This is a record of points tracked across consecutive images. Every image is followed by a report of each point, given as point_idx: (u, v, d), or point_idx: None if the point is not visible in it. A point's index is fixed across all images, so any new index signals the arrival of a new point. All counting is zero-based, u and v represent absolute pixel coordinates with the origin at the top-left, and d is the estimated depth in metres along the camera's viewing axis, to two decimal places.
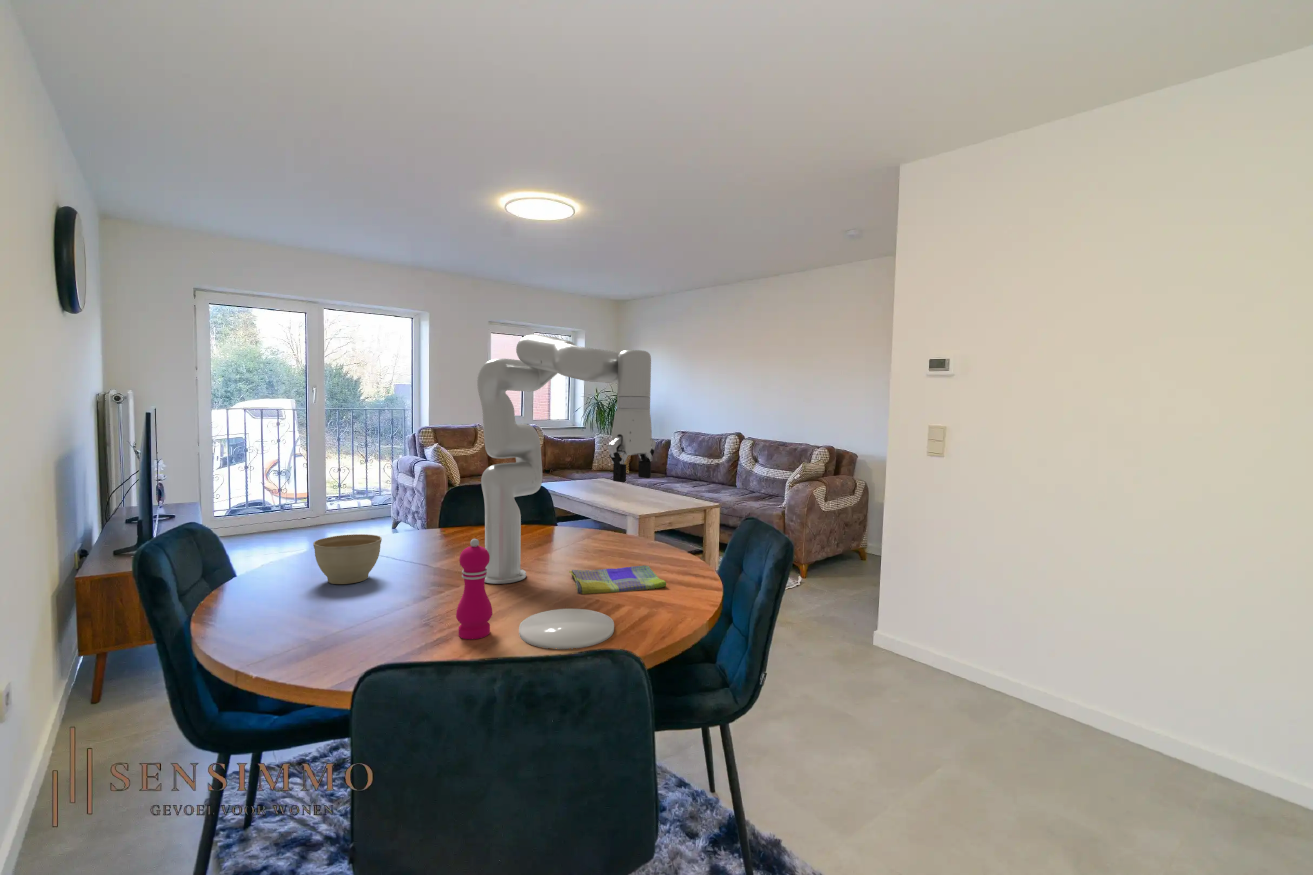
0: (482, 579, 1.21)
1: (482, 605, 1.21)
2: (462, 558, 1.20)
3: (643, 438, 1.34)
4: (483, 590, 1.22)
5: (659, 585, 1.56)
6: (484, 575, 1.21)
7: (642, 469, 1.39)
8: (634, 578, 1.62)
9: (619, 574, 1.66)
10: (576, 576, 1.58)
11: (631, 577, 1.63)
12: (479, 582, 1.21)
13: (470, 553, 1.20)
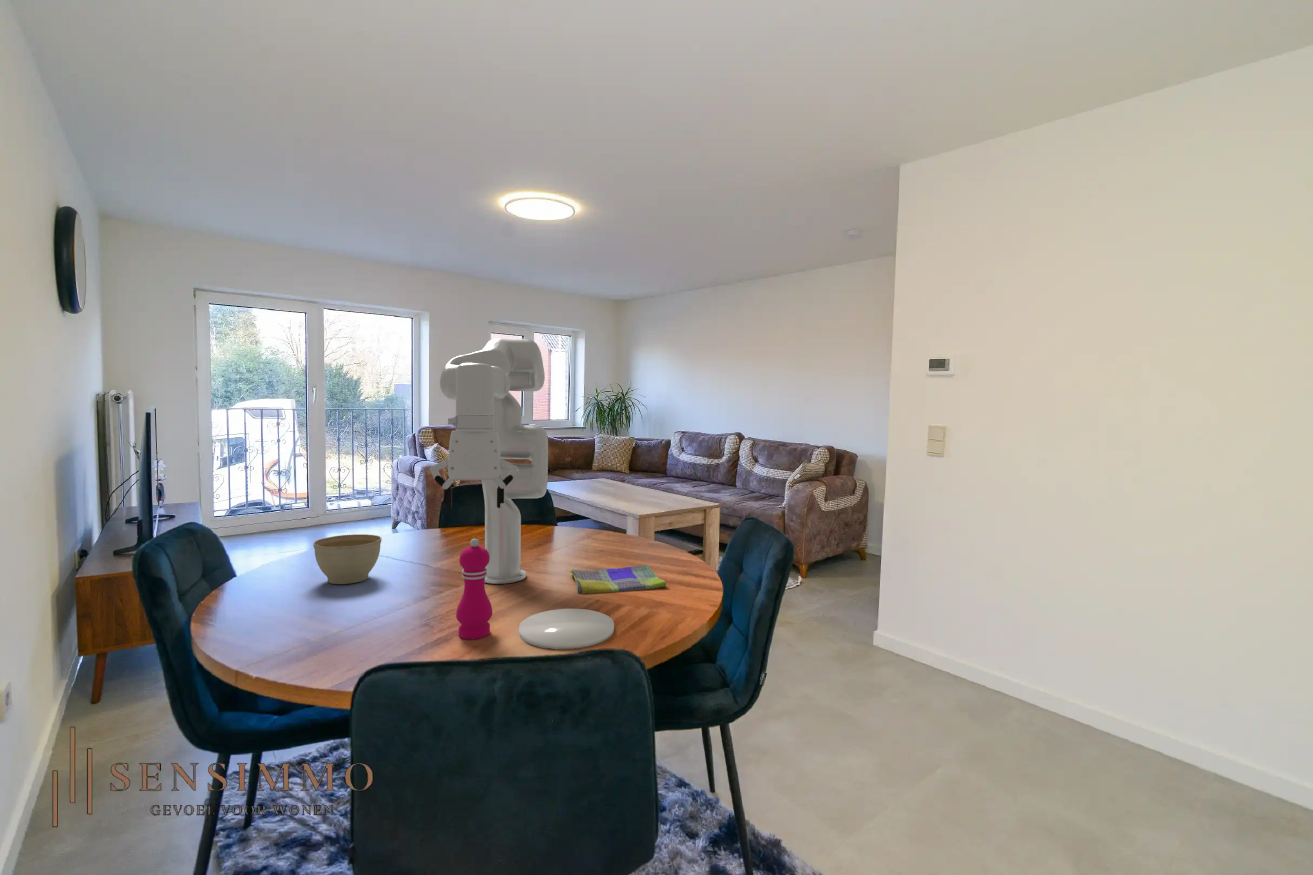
0: (482, 579, 1.21)
1: (482, 605, 1.21)
2: (462, 558, 1.20)
3: None
4: (483, 590, 1.22)
5: (659, 585, 1.56)
6: (484, 575, 1.21)
7: (451, 498, 1.20)
8: (634, 578, 1.62)
9: (619, 574, 1.66)
10: (576, 576, 1.59)
11: (631, 577, 1.63)
12: (479, 582, 1.21)
13: (470, 553, 1.20)
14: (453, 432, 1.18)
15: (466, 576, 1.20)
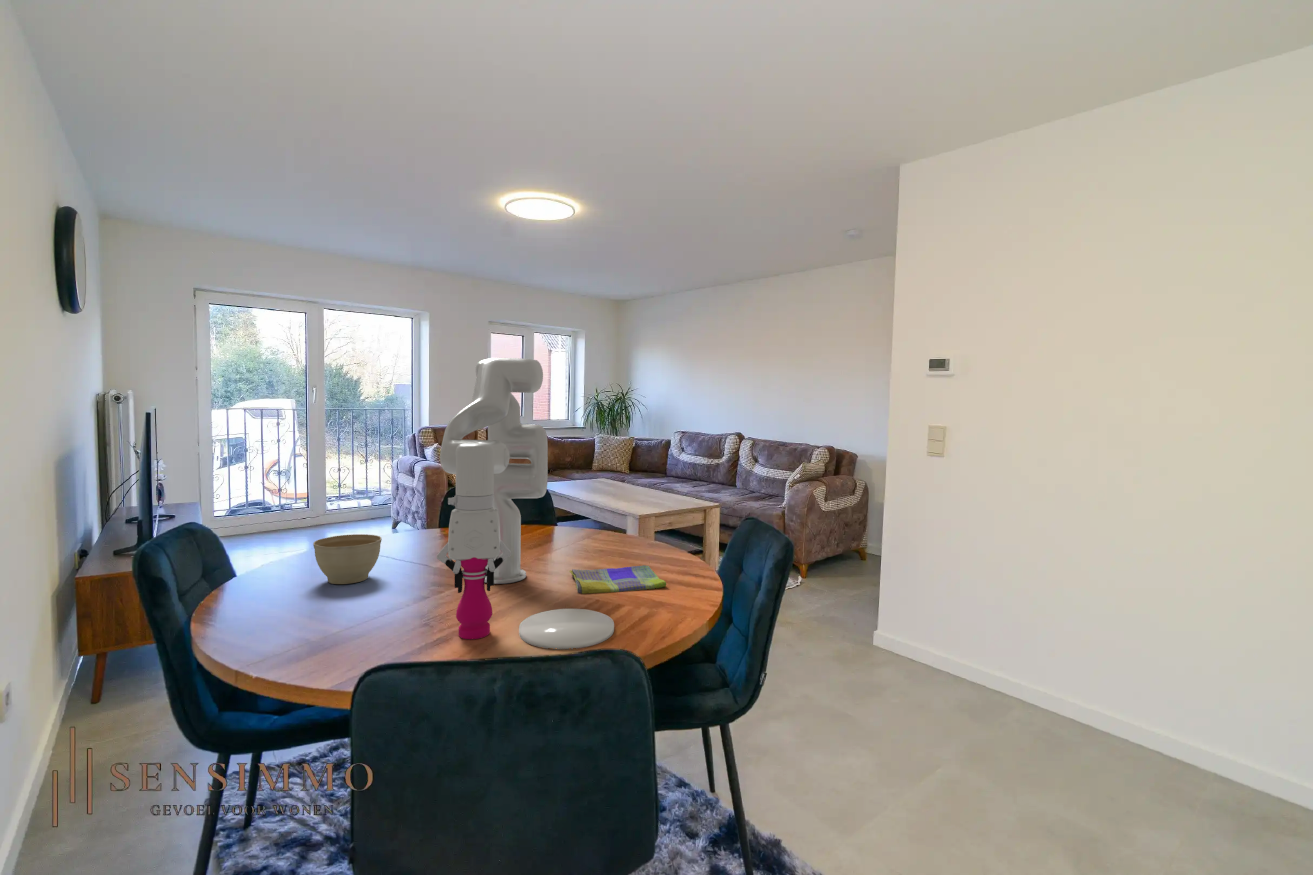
0: (482, 579, 1.21)
1: (482, 605, 1.21)
2: None
3: None
4: (483, 590, 1.22)
5: (659, 585, 1.56)
6: (484, 575, 1.21)
7: None
8: (634, 578, 1.62)
9: (619, 574, 1.66)
10: (576, 576, 1.59)
11: (631, 577, 1.63)
12: (479, 582, 1.21)
13: None
14: (453, 513, 1.19)
15: (466, 576, 1.20)
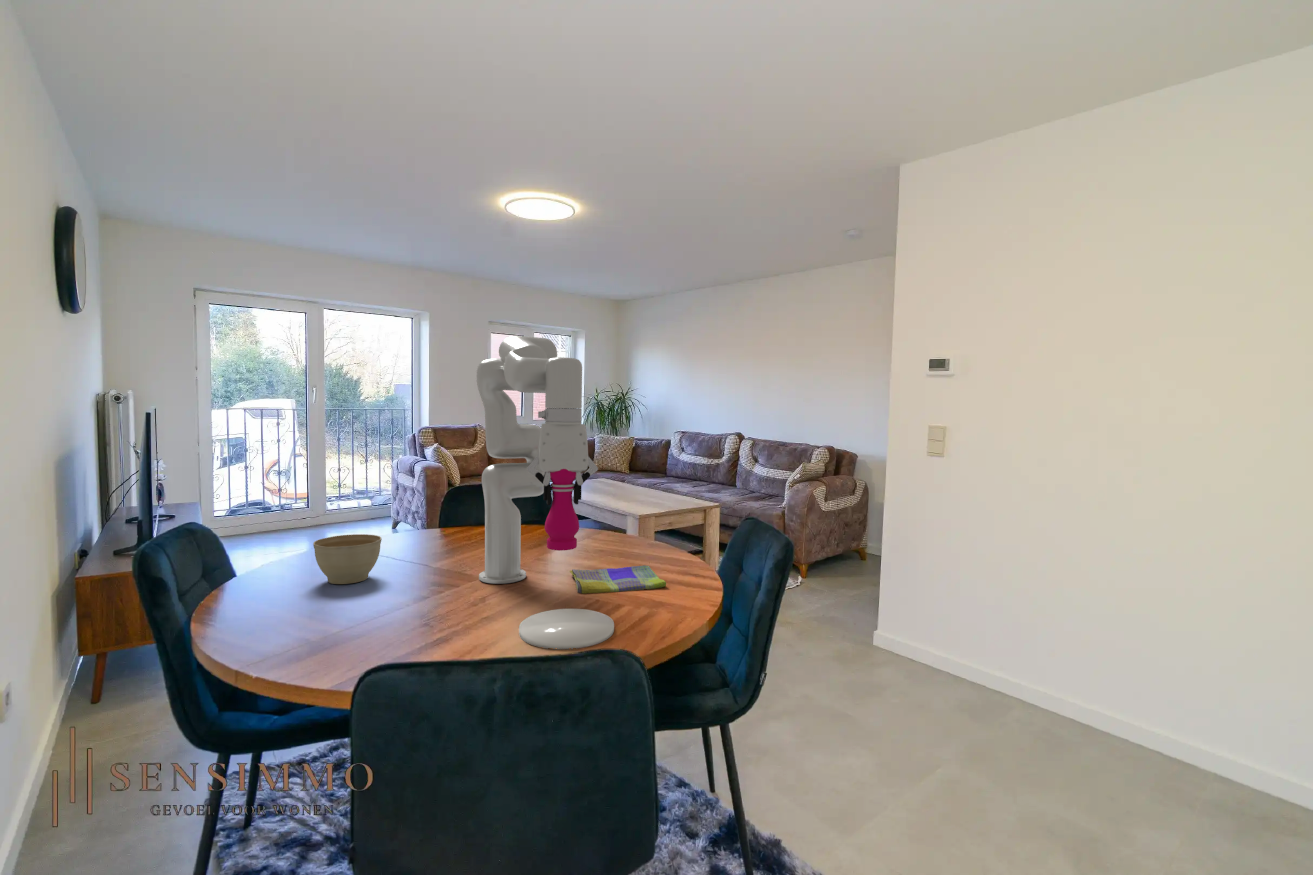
0: (570, 492, 1.23)
1: (571, 517, 1.22)
2: None
3: None
4: (571, 503, 1.24)
5: (659, 585, 1.56)
6: (572, 488, 1.23)
7: None
8: (634, 578, 1.62)
9: (619, 574, 1.66)
10: (576, 576, 1.59)
11: (631, 577, 1.63)
12: (567, 495, 1.23)
13: None
14: (544, 425, 1.20)
15: (556, 488, 1.22)
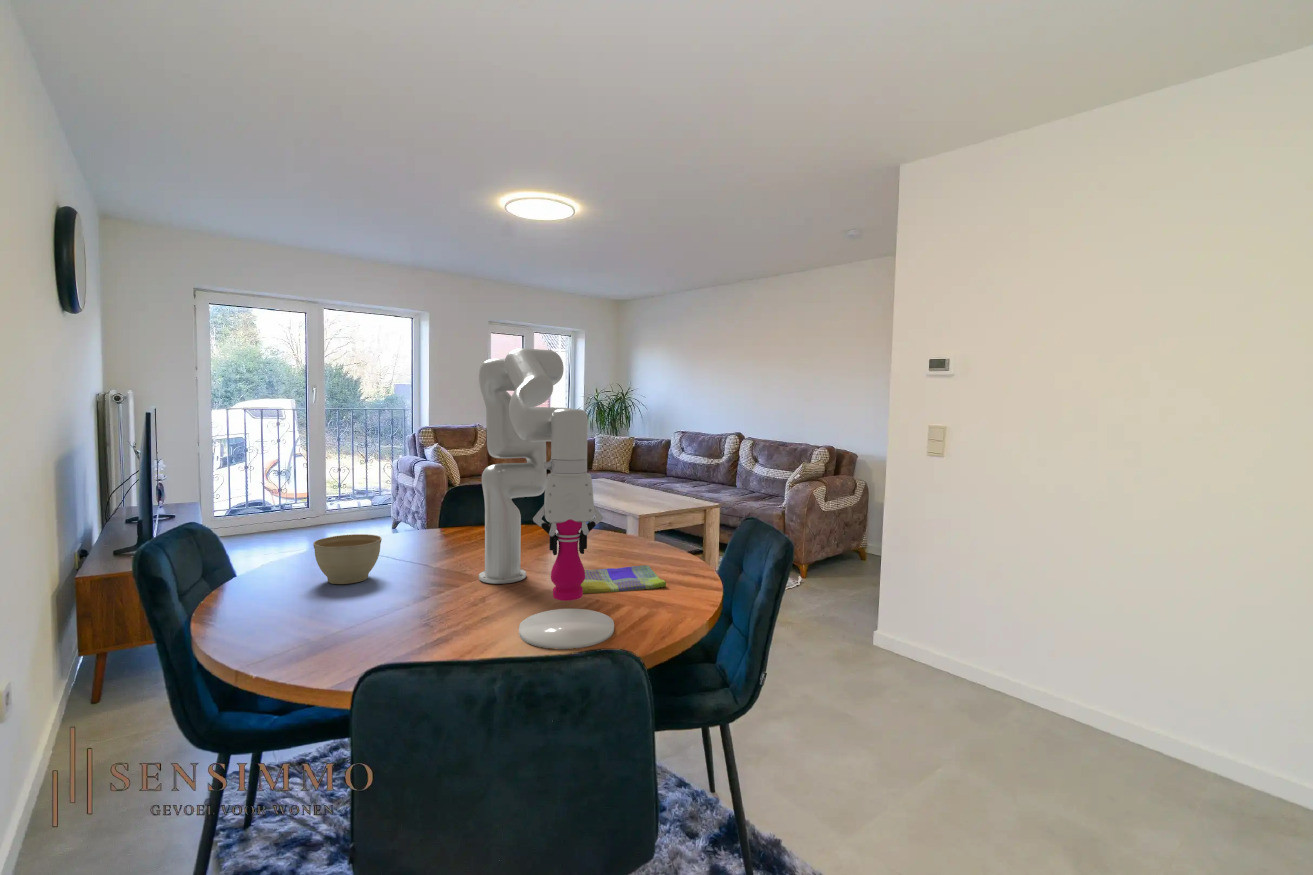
0: (576, 542, 1.24)
1: (577, 567, 1.23)
2: None
3: None
4: (577, 553, 1.24)
5: (659, 585, 1.56)
6: (578, 538, 1.24)
7: None
8: (634, 578, 1.62)
9: (619, 574, 1.66)
10: None
11: (631, 577, 1.63)
12: (573, 545, 1.23)
13: None
14: (550, 476, 1.21)
15: (562, 539, 1.23)
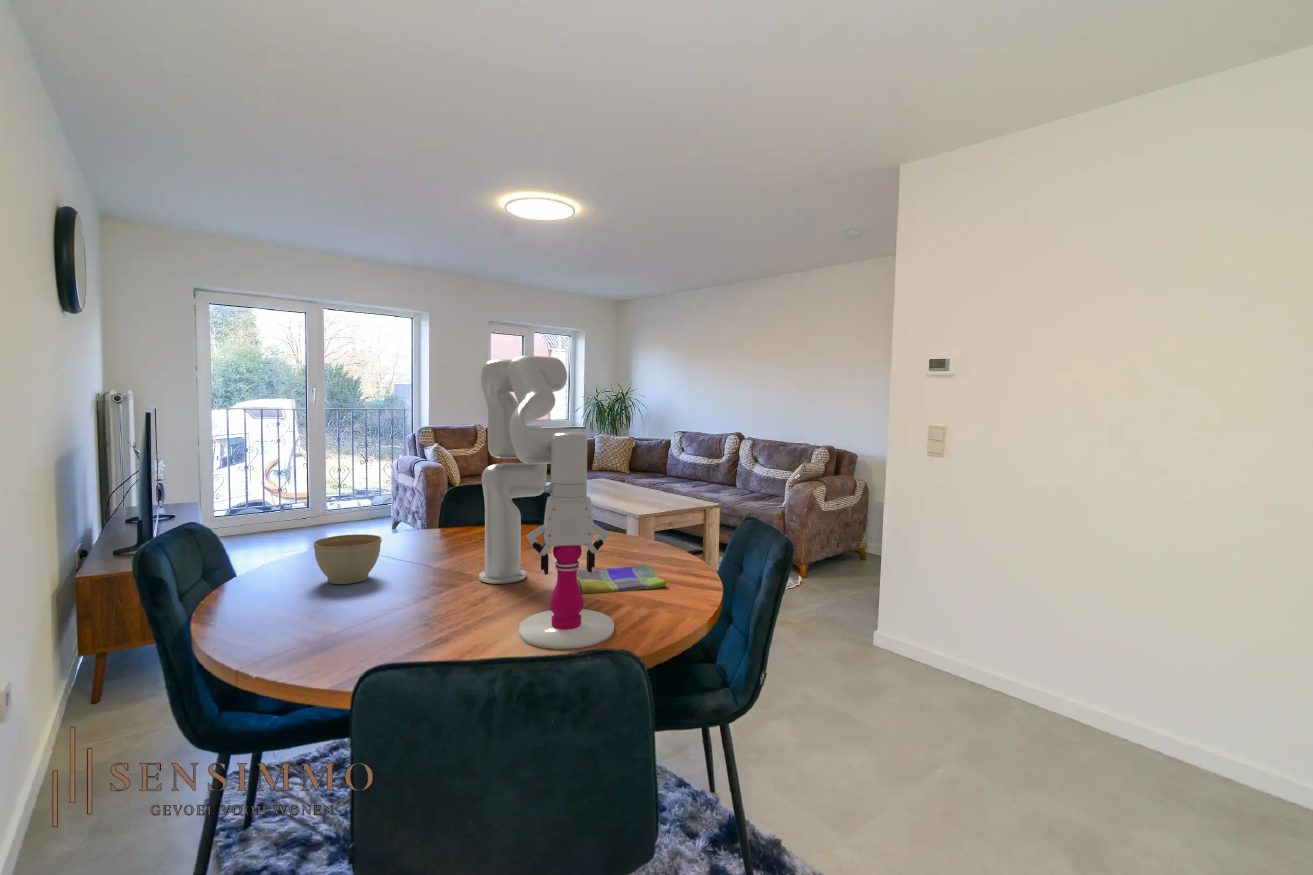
0: (575, 571, 1.24)
1: (576, 596, 1.23)
2: (556, 550, 1.23)
3: None
4: (576, 582, 1.25)
5: (659, 585, 1.56)
6: (577, 567, 1.24)
7: None
8: (634, 578, 1.62)
9: (619, 574, 1.66)
10: None
11: (631, 577, 1.63)
12: (572, 574, 1.24)
13: None
14: (550, 500, 1.21)
15: (560, 568, 1.23)
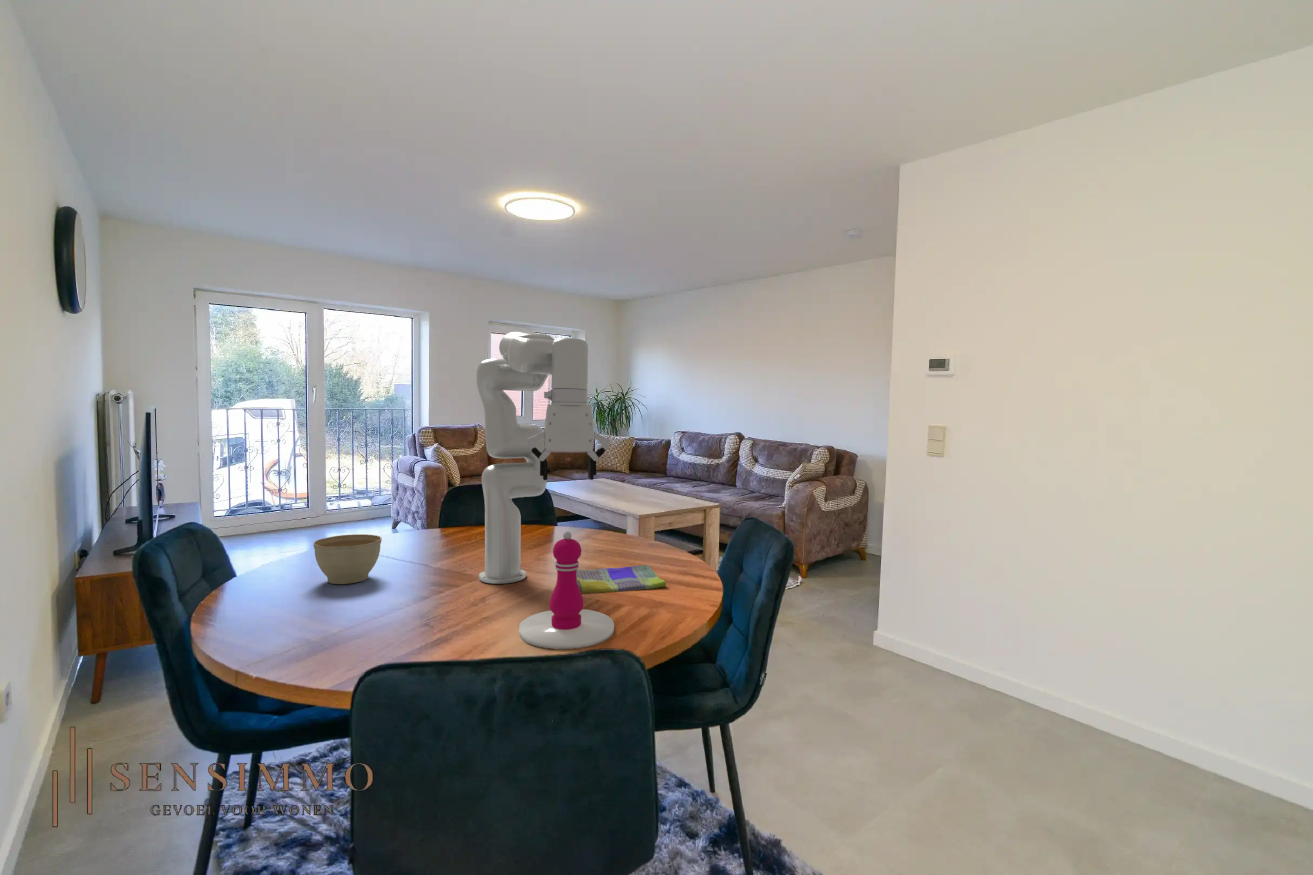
0: (575, 571, 1.24)
1: (576, 596, 1.23)
2: (556, 550, 1.23)
3: None
4: (575, 582, 1.25)
5: (659, 585, 1.56)
6: (577, 567, 1.24)
7: None
8: (634, 578, 1.62)
9: (619, 574, 1.66)
10: (576, 575, 1.59)
11: (631, 577, 1.63)
12: (572, 574, 1.24)
13: (565, 545, 1.23)
14: (550, 405, 1.21)
15: (560, 568, 1.23)
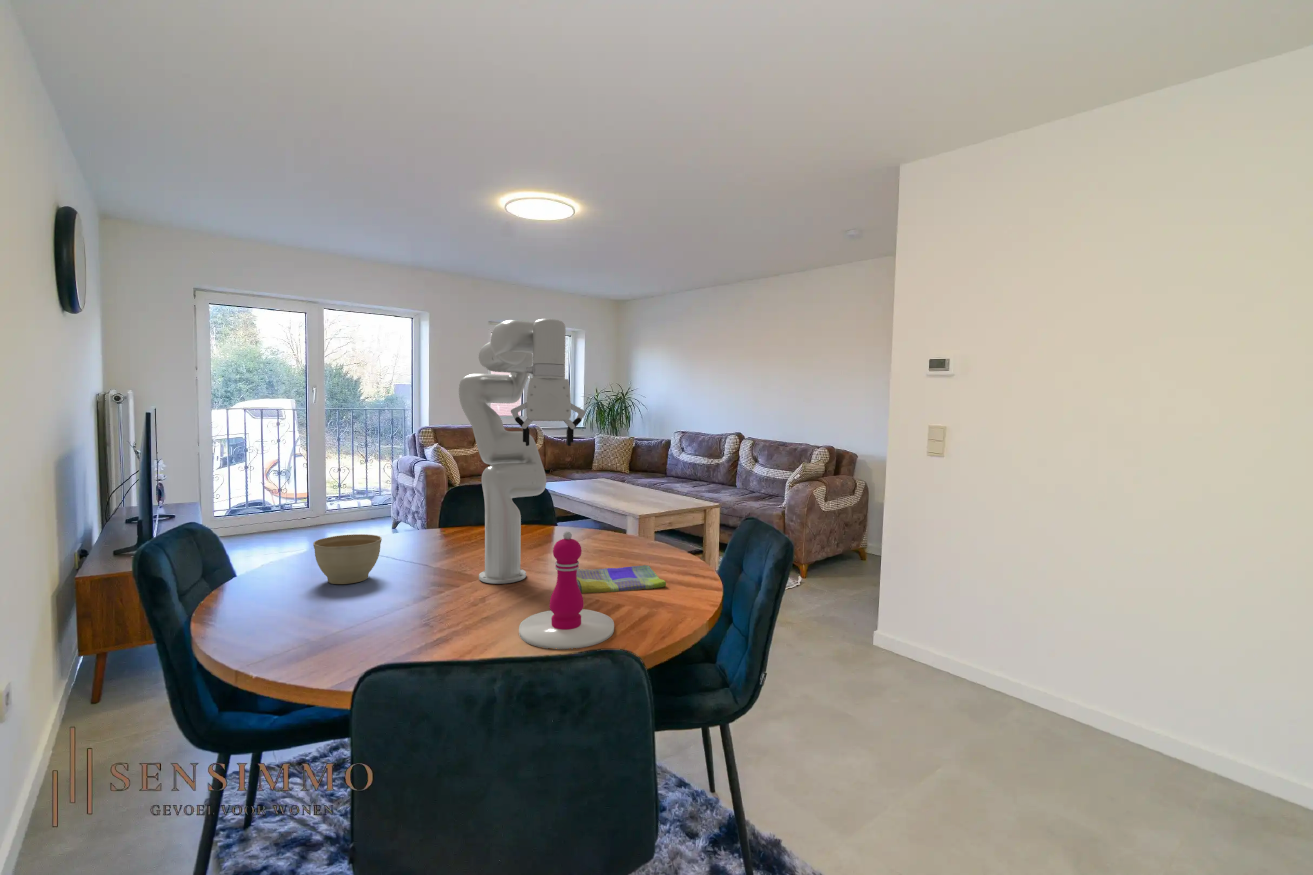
0: (575, 571, 1.24)
1: (576, 596, 1.23)
2: (556, 550, 1.23)
3: None
4: (576, 582, 1.25)
5: (659, 585, 1.56)
6: (577, 567, 1.24)
7: None
8: (634, 578, 1.62)
9: (619, 574, 1.66)
10: None
11: (631, 577, 1.63)
12: (572, 574, 1.24)
13: (565, 545, 1.23)
14: (531, 379, 1.36)
15: (560, 568, 1.23)
